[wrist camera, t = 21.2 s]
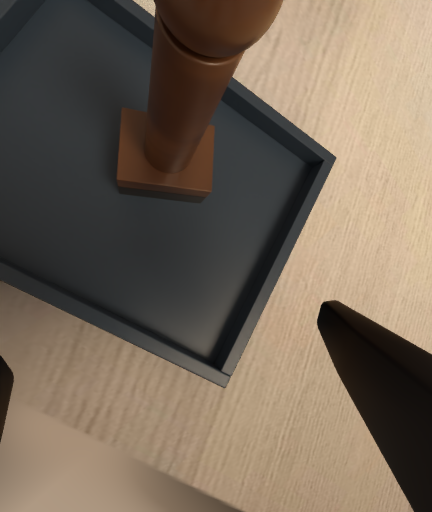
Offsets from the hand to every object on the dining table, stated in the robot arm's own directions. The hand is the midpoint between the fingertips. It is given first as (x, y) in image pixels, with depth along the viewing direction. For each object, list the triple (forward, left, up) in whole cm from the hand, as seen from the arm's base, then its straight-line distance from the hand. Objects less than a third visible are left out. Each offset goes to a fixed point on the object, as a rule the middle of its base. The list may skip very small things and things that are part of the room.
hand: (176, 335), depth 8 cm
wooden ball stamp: (+8, +4, -10) cm, 13 cm away
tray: (+6, +5, -10) cm, 13 cm away
